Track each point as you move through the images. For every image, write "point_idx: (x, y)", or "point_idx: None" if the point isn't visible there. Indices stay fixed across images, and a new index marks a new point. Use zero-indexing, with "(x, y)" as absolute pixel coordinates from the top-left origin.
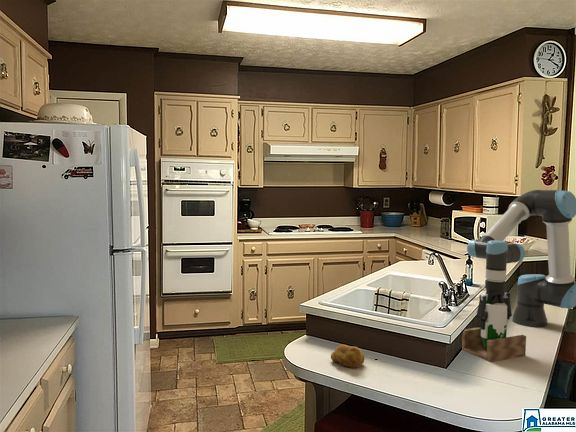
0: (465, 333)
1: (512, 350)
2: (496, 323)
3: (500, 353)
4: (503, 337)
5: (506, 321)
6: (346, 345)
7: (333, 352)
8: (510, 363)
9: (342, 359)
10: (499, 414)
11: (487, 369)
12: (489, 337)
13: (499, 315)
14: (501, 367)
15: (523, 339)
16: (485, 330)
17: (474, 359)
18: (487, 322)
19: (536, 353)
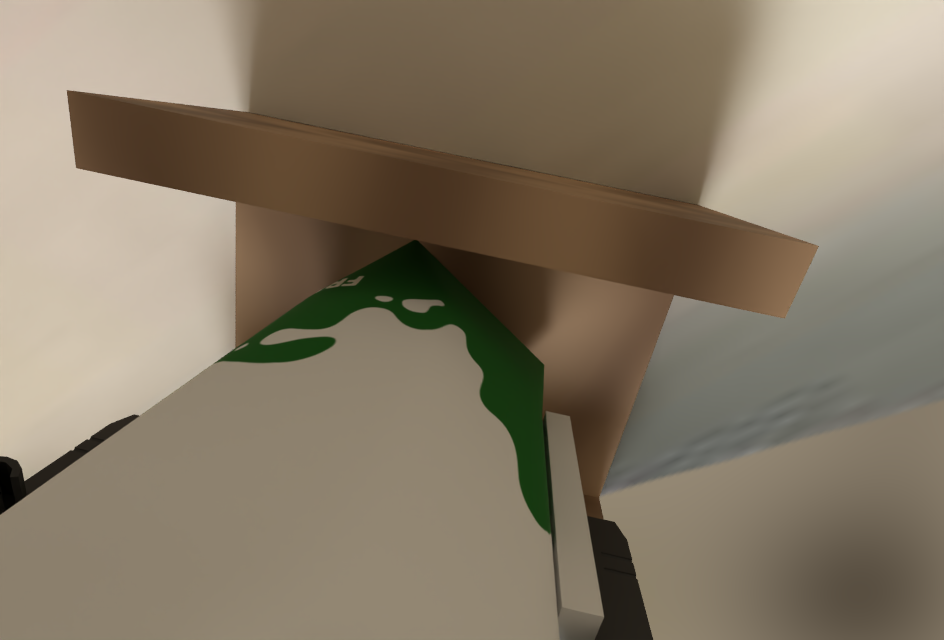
0: None
1: (397, 147)
2: (466, 474)
3: (576, 183)
4: (385, 289)
5: (173, 404)
6: None
7: None
8: (569, 59)
9: None
10: None
11: (941, 86)
12: (537, 397)
13: (351, 633)
14: (762, 37)
15: (158, 106)
16: (576, 496)
17: (746, 323)
18: (574, 602)
19: (98, 89)
